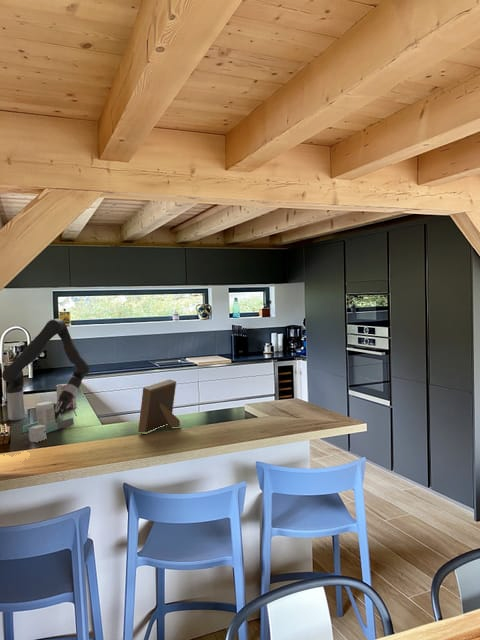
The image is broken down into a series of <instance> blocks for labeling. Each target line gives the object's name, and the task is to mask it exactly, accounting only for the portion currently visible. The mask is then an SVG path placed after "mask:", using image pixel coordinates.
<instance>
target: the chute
mask: <svg viewBox="0 0 480 640" xmlns="http://www.w3.org/2000/svg"><path fill="white" fill-rule="evenodd" d="M55 422H56V423H54V424H51V425H48V426H46V434H48V433H51V432H54V431H57V430H59V429H60V430H61V429H64V428H65V427H68V426H69V427H70V426H72V425H74V424H75V422H74V417H70V418H67V419H65V420H60V421H58V417H57V418H56V420H55ZM36 425H37V421H35V422H32V423H29V424H26V425H23V426H22V432H23V433H29V428H30V427H33V426H36Z"/></svg>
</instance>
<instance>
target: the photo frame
mask: <svg viewBox="0 0 480 640" xmlns="http://www.w3.org/2000/svg"><path fill="white" fill-rule="evenodd" d="M176 386H177V381H176V380H172V379H166V380H164V381H161V382H160V381H159V382H158V383H154V384H151V385H147V386H145V387H142V396H141V404H140V412H139V421H138V431H137V433H138V432H148V431H150V430H153V429H155V428H158V427H160V426H163V425H166V424H169V425H168V426H170V428H171V427H179V426H180V427H181V421H180V418H178V417H177V416H176V415H175V414H174V413H173V411H174V403H175V394H176Z"/></svg>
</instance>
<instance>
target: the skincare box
mask: <svg viewBox="0 0 480 640" xmlns="http://www.w3.org/2000/svg"><path fill="white" fill-rule="evenodd" d="M28 435H29V442H31V443H39V441H40V442H43V441H46V440H47V438H48V437H47V433H46V426H45V425H36V426H33V427H30V428H29V431H28ZM45 439H46V440H45ZM42 440H43V441H42Z"/></svg>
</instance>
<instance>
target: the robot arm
mask: <svg viewBox="0 0 480 640" xmlns="http://www.w3.org/2000/svg"><path fill="white" fill-rule="evenodd" d="M56 335H58V337H59V338H60V340H61V342H62V345H63V351H64V354H65V355H66V357H67V359H68V360H69V362H70V364H72V365H74V366H75V367H76V368H75V369H74V371H73V373H72V375H71V377H70V379H69V380H68V382H67V383H66V384H67V385H66V386H65V388H64V389H63V391H62V393H61V394H60V396H59V400H58V401H57V402H56V403H54V402H53V405H54V413H55V420H56V418H57V419H58V417H59V415H61V414H64V413H65V412H66V411H68V410H70V409H69V408H70V406H69V405H68V404H69V403H71V401H72V400H73V398H74V396H75V395H76V394H77V393H78V390H79V389H80V387H81V385H82V381H83V379H84V378H85V376H87V375H88V374H90V366H89V365H88V363H87V362H86V360H85V359H84V358H82V356H81V354H80V351H78V349H77V347H76V345H75V343H74V341H73V339H72V336H71V333H70V332H69V329H68V326H67V325H66V322H65V320H63V319H61V318H53V319H50V320H48V322H46V323H45V325H44V327H43V328H42V330H41V331H40V332H39V334H37V335H36V337H34V338H33V340H31V341H30V343H28V344H27V346H26V347H25V348H24V349H23V350H22V352H20V354H19V355H17V357H16V359H15V360H14V361H13V362H11V363H10V364H9V365H8V366H6V368H4V370H3V371H2V374H1V377H2V380H4V382H7V383H9V384H8V386H7V387H6V397H7V399H6V400H7V405H6V406H7V415H8V416H7V417H8V420H9V421H20V420H23V419H25V418H26V409H25V398H24V390H23V389H24V385H25V381H24V371H23V369H24V368H26V367H27V366H29V365H30V364H31V363H33V362H34V361H36V360H37V359H38V358H39V356H41V355H42V353H44V350H45V349H46V346H47V344H48V342H49V341H50V340H51V339H52V338H54V337H55V336H56Z"/></svg>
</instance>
